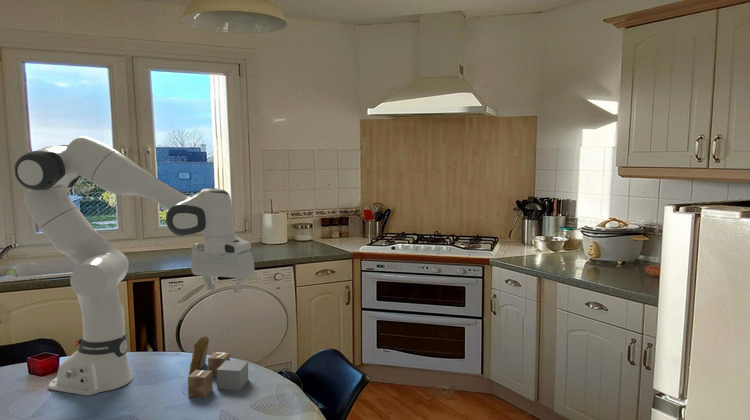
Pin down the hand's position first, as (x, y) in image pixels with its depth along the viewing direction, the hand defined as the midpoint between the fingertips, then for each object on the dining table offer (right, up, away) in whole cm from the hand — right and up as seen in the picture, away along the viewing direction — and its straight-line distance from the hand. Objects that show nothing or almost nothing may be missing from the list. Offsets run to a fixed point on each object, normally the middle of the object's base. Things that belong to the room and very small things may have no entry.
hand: (224, 291), depth 157 cm
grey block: (+2, -29, +4) cm, 29 cm away
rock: (-13, -27, +15) cm, 34 cm away
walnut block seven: (-5, -28, +12) cm, 30 cm away
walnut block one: (-6, -29, -2) cm, 30 cm away
